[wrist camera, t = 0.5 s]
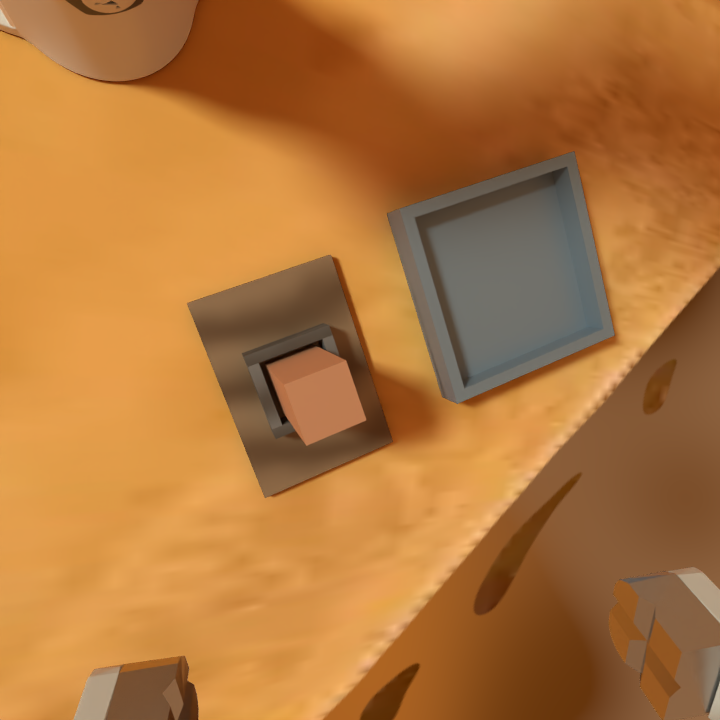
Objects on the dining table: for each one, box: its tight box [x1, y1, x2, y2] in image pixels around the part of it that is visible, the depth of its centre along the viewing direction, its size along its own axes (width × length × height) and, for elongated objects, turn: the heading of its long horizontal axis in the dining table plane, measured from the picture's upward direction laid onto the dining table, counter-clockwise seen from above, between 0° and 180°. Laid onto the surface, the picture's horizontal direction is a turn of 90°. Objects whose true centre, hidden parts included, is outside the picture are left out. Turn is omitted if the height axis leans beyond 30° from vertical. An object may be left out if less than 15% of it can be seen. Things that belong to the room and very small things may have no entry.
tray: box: [387, 151, 615, 404], centre depth 56 cm, size 20×20×4 cm
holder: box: [187, 255, 393, 498], centre depth 51 cm, size 20×14×4 cm
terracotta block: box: [264, 345, 366, 446], centre depth 46 cm, size 5×5×12 cm
